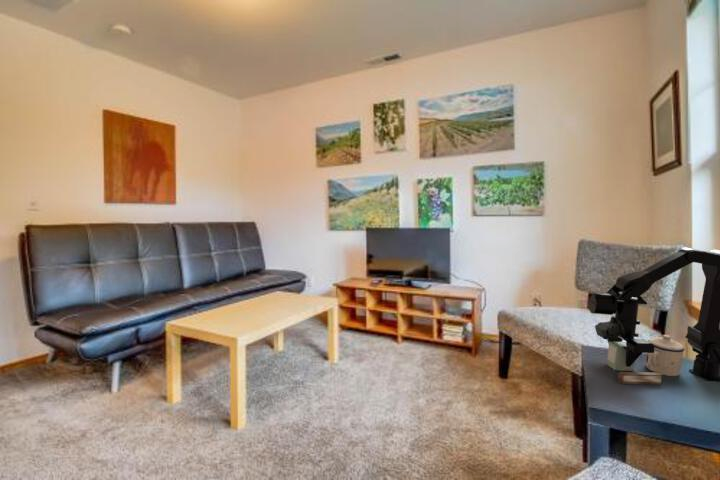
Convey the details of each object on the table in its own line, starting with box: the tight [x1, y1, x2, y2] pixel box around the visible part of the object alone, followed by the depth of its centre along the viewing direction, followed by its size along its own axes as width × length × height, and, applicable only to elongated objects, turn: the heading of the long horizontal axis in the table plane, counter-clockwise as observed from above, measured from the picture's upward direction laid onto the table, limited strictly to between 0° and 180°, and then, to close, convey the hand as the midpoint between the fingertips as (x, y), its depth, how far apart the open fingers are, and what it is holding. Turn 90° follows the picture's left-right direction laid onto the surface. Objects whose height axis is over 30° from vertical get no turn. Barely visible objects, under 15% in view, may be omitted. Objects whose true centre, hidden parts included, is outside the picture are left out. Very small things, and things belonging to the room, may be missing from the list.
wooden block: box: [617, 371, 663, 385], centre depth 110 cm, size 12×2×3 cm, turn 90°
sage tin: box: [606, 341, 636, 372], centre depth 119 cm, size 4×6×8 cm, turn 90°
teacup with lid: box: [645, 334, 685, 377], centre depth 117 cm, size 12×9×12 cm
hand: (620, 361), depth 120 cm, fingers open, 6 cm apart
